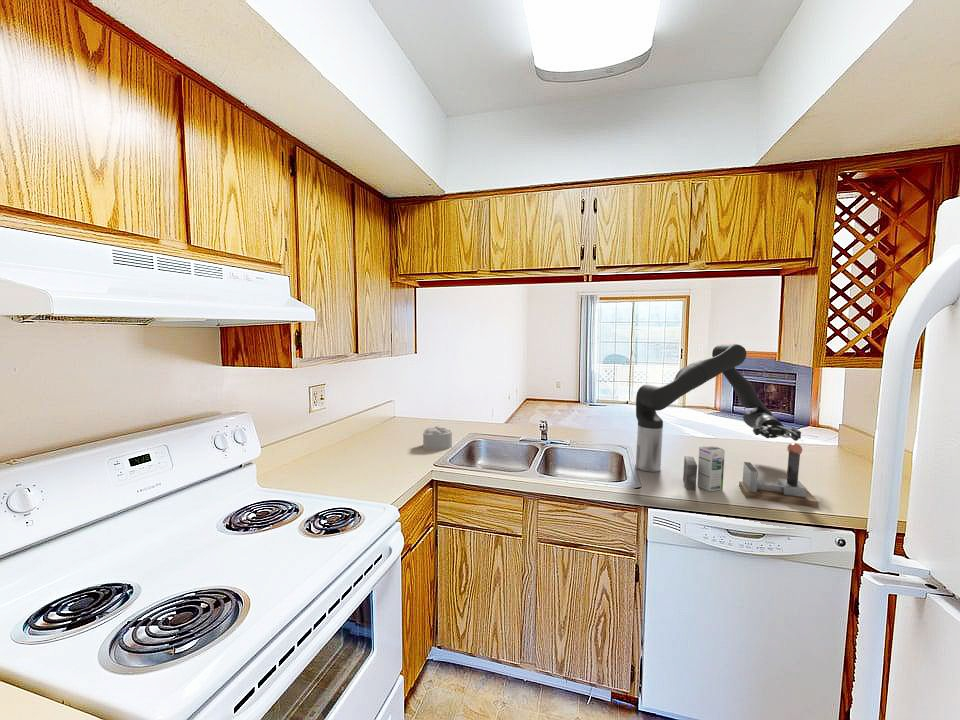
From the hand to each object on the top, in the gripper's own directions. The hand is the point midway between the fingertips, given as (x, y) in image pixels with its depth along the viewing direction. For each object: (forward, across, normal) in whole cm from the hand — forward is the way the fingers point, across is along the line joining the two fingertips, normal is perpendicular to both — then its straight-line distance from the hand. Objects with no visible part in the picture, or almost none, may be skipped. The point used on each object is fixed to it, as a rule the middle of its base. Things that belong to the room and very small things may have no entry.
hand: (782, 436), depth 150 cm
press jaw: (+13, -5, +15) cm, 21 cm away
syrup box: (+13, -24, +18) cm, 33 cm away
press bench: (+13, -13, +17) cm, 26 cm away
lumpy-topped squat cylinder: (+7, -134, +16) cm, 136 cm away
